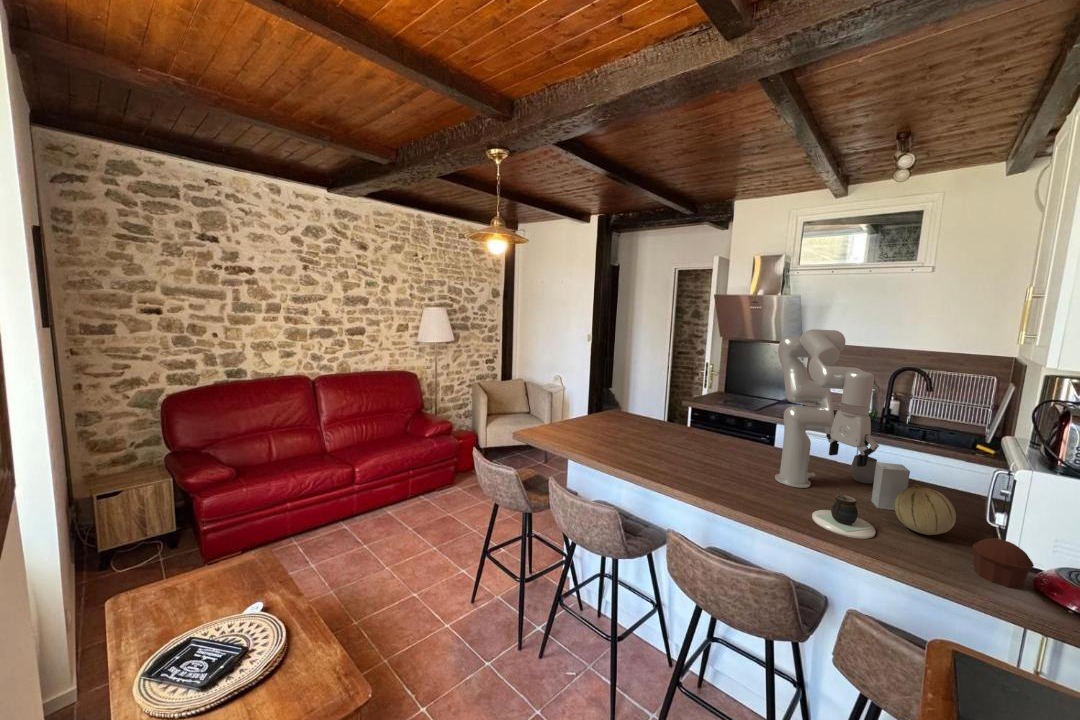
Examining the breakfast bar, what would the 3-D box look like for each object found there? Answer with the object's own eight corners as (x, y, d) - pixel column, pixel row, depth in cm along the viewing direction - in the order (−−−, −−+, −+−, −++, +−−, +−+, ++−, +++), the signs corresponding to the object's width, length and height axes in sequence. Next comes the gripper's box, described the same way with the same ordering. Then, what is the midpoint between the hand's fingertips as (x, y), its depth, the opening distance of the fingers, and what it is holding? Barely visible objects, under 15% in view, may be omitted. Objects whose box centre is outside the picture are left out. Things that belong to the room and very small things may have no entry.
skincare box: (896, 505, 160) (902, 463, 158) (905, 513, 153) (912, 470, 151) (869, 501, 163) (875, 460, 161) (876, 509, 156) (883, 466, 154)
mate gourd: (844, 527, 138) (848, 497, 137) (823, 516, 145) (826, 488, 144) (862, 525, 140) (865, 496, 139) (840, 515, 147) (844, 486, 146)
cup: (852, 483, 180) (855, 459, 179) (846, 475, 189) (849, 453, 187) (880, 487, 176) (883, 463, 175) (872, 479, 185) (875, 456, 184)
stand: (837, 510, 153) (838, 507, 153) (888, 535, 137) (889, 531, 137) (800, 515, 148) (800, 511, 148) (847, 541, 132) (848, 537, 132)
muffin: (1032, 598, 109) (1040, 560, 107) (970, 578, 116) (976, 543, 115) (1024, 577, 117) (1031, 542, 116) (967, 560, 125) (973, 527, 123)
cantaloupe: (957, 549, 130) (965, 501, 129) (895, 534, 138) (902, 489, 136) (944, 529, 143) (952, 485, 141) (888, 516, 151) (894, 474, 149)
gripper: (821, 403, 147) (814, 451, 149) (873, 417, 130) (864, 471, 133) (838, 402, 149) (831, 450, 152) (891, 416, 133) (882, 470, 135)
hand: (846, 460), depth 142 cm, fingers open, 9 cm apart
